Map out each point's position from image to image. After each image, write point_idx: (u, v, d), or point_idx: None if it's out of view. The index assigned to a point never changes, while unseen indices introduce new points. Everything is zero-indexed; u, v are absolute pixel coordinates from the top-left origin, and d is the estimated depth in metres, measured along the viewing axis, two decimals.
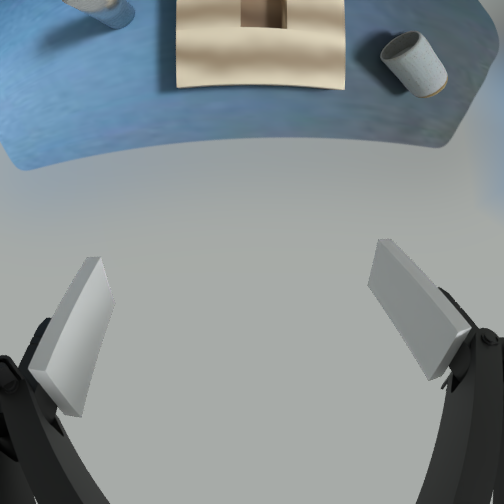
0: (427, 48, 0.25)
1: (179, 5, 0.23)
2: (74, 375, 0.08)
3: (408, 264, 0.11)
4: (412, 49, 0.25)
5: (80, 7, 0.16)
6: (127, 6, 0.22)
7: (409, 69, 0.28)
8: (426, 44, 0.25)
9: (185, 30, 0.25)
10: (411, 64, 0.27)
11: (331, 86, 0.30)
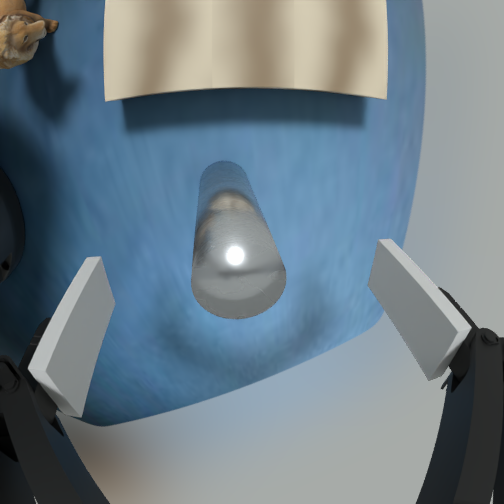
0: None
1: (242, 82, 0.17)
2: (74, 375, 0.08)
3: (408, 264, 0.11)
4: None
5: None
6: (226, 172, 0.20)
7: None
8: None
9: (296, 73, 0.17)
10: None
11: None
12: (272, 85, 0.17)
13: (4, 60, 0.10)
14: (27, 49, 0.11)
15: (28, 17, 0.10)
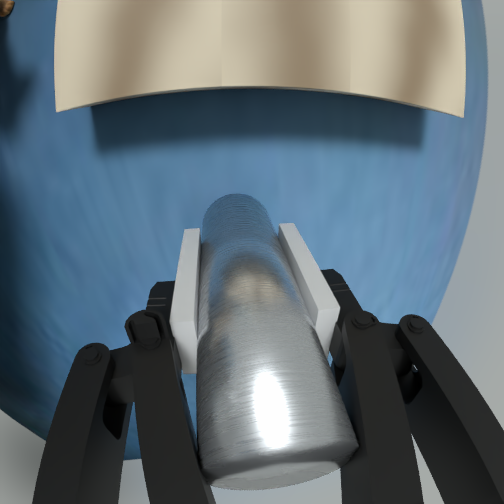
0: None
1: (271, 78, 0.10)
2: None
3: (297, 245, 0.13)
4: None
5: None
6: (242, 220, 0.13)
7: None
8: None
9: (353, 69, 0.10)
10: None
11: None
12: (317, 85, 0.11)
13: None
14: None
15: None
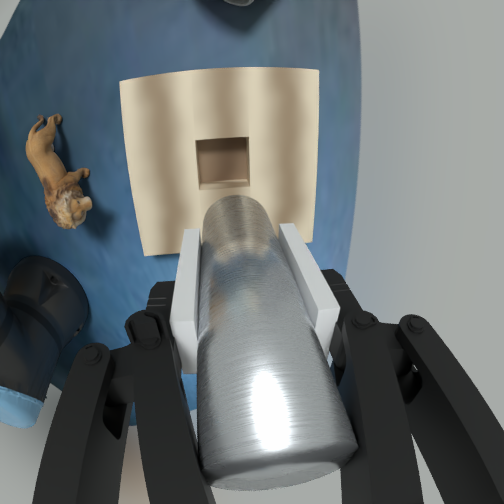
0: None
1: None
2: None
3: (297, 245, 0.13)
4: None
5: None
6: (242, 221, 0.13)
7: None
8: None
9: None
10: None
11: (316, 85, 0.26)
12: None
13: (72, 227, 0.26)
14: (82, 215, 0.27)
15: (73, 186, 0.27)
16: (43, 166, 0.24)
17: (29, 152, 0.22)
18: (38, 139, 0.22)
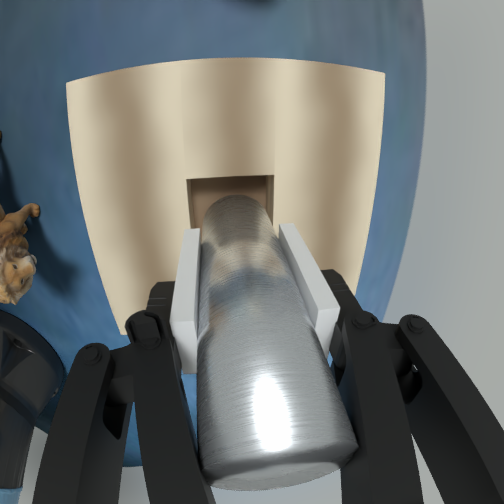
0: None
1: None
2: None
3: (297, 245, 0.13)
4: None
5: None
6: (242, 221, 0.13)
7: None
8: None
9: None
10: None
11: (381, 97, 0.16)
12: None
13: None
14: (26, 281, 0.17)
15: (11, 238, 0.16)
16: None
17: None
18: None
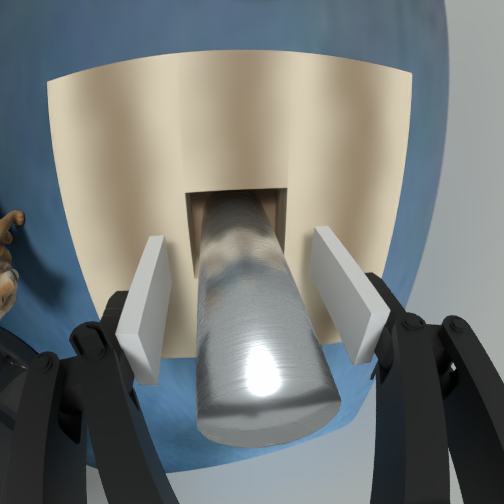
0: None
1: None
2: (153, 342, 0.10)
3: (337, 249, 0.12)
4: None
5: None
6: (238, 208, 0.15)
7: None
8: None
9: None
10: None
11: (407, 100, 0.13)
12: None
13: None
14: (8, 297, 0.14)
15: None
16: None
17: None
18: None
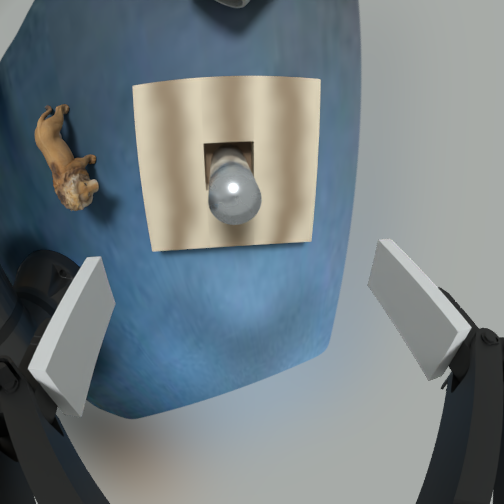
0: None
1: (226, 244, 0.36)
2: (74, 375, 0.08)
3: (408, 264, 0.11)
4: None
5: None
6: (229, 150, 0.30)
7: None
8: None
9: (255, 237, 0.36)
10: None
11: (318, 94, 0.28)
12: (242, 244, 0.36)
13: (79, 208, 0.28)
14: (89, 197, 0.29)
15: (81, 170, 0.28)
16: (52, 152, 0.25)
17: (38, 138, 0.24)
18: (47, 126, 0.24)
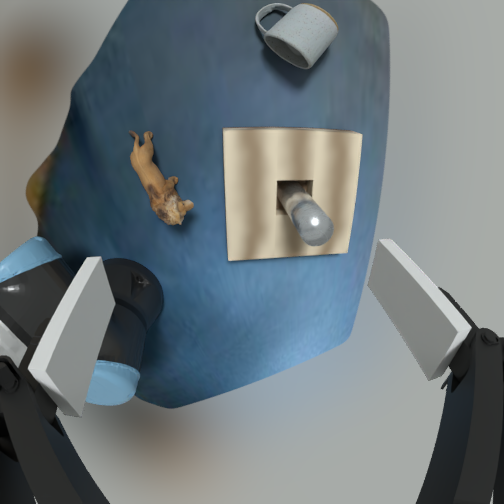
0: (293, 32, 0.28)
1: (286, 255, 0.47)
2: (74, 375, 0.08)
3: (408, 264, 0.11)
4: (302, 52, 0.29)
5: None
6: (296, 186, 0.41)
7: (319, 52, 0.30)
8: (288, 32, 0.28)
9: (308, 249, 0.47)
10: (315, 52, 0.30)
11: (359, 145, 0.39)
12: (298, 255, 0.48)
13: None
14: None
15: (174, 191, 0.39)
16: (149, 175, 0.36)
17: (136, 163, 0.35)
18: (145, 153, 0.35)
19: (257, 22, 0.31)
